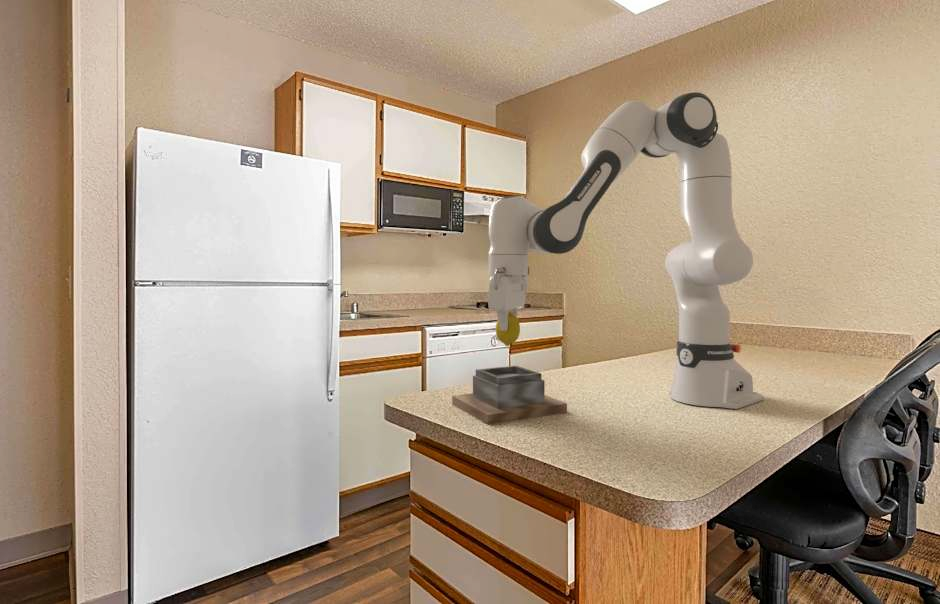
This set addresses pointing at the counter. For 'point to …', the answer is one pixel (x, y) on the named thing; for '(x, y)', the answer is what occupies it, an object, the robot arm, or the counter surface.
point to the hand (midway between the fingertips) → (508, 328)
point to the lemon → (509, 330)
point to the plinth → (507, 412)
